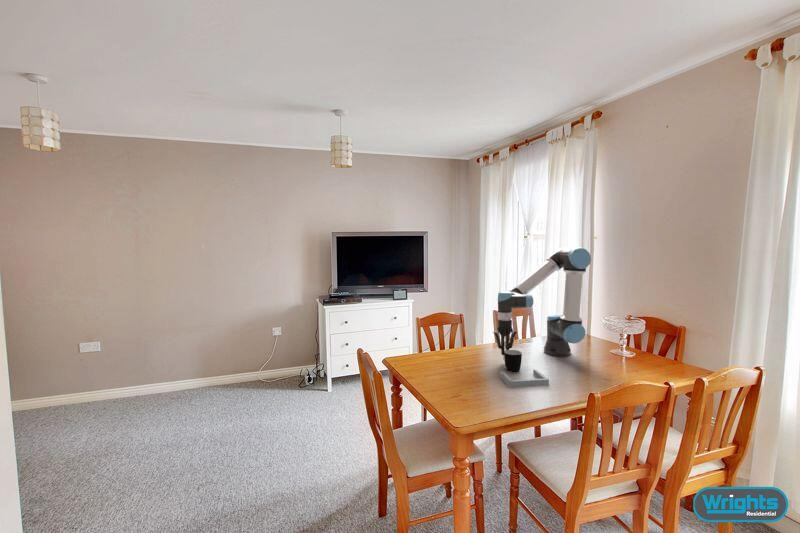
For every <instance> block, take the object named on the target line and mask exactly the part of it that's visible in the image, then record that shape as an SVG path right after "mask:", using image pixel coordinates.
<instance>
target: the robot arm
mask: <svg viewBox="0 0 800 533" xmlns="http://www.w3.org/2000/svg"><path fill="white" fill-rule="evenodd" d="M591 262H592V257H591V253H590V252H589V251H588V249H586V248H585V247H580V246H564V247H563V246H562V247H561V248H559V249H557V250H556V251H555V252H553V253H552V254H551V255H549V256H548V257H547V258H546V261H545V262H544V263H542V264H541V265H540V266H539V267H537V269H535V270H534V271H533V272H532V273H530V274H529V275H528V276H527V277H526V278H525V279H523V280H522V281H521V282H520V283H519V284H517V285H516V286H515V287H513V289H510V290H507V291H499V292H498V294H497V319H498V320H497V329H496V330H495V331H493V332H492V333H493V335H494V337H495V341H496V346H497V348H498V349H499V350H501V351H500V353H501V355H502V361H504V362H505V359H504V351H506V350H511V349H512V348H513V346H514V342H515V341H514V340H515V336H516V334H517V331H516V330H514V329H513V321H512V318H513V309H528V308H529V309H531V308H533V306H534V296H533V295H532V294H529V293H530V292H531V291H533V290H534V289H535V288H536V287H538V286H539V285H540V284H541V283H542V282H544V281H545V280H546V279H547V278H548V277H550V276H551V275H552V274H554V273H555V271H557V272H558V271H560V270H562V269H563V271H564V273H565V282H564V296H563V297H564V298H563V307H562V308H563V310H562V314H551V315H548V316H547V319H546V342H545V344H544V347H543V352H544V353H545V354H546V355H549V356H555V357H568V356H570V355H571V354H572V352H571V351H572V350H571V347H570V344H572V345H573V344H579V343H581V342H582V341H583V340H584V339H585V336H586V329H585V327H584V325H583V319H582V317H581V316H580V315H581V303H582V302H581V299H582V287H583V275H584V274H585V273H586V271H587V268H588V267H589V265H591ZM499 334H500V338H499ZM569 343H570V344H569Z"/></svg>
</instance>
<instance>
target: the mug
mask: <svg viewBox="0 0 800 533" xmlns="http://www.w3.org/2000/svg"><path fill="white" fill-rule="evenodd" d="M522 357H523V354H522V351H520V350H517V349H509V350H506V351H504V359H505V361H504V366H505V370H506V371H507V372H509V373H519V372H520V370H521V367H522V366H521V365H522Z"/></svg>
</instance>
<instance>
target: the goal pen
mask: <svg viewBox="0 0 800 533" xmlns="http://www.w3.org/2000/svg"><path fill="white" fill-rule="evenodd" d="M532 373H533V374H532V375H533V377H535V378H532V379H531V378H528V379H515V380H514V379H512V378H510V377H509V375H508V374H507V373H506V372H505V371H504V370H502V371H499V376H500V379H502V381H503V382H504V383H505V384H506V385H507V386H508V387H509V388H511V389H512V388H513V389H514V388H529V387H530V388H531V387H546V386H550V379H549V378H548V377H547V376H545V375H544V374H542V373H541V372H540V371H539V370H538V369H534V368H533V370H532Z"/></svg>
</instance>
